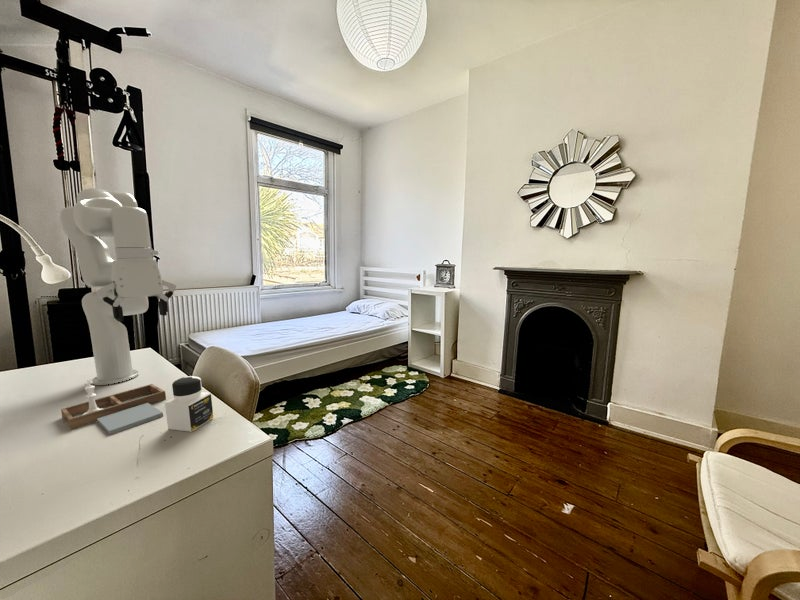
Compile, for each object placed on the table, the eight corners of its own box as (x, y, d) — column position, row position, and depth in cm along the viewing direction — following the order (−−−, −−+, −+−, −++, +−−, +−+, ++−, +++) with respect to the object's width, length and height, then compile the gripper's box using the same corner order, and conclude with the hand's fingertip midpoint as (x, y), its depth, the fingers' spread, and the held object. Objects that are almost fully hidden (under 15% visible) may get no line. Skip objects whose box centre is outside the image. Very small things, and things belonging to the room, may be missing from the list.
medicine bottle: (191, 432, 78) (186, 385, 77) (167, 429, 80) (161, 383, 78) (214, 418, 85) (209, 374, 84) (191, 415, 87) (186, 373, 85)
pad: (97, 422, 84) (96, 418, 84) (148, 405, 93) (147, 402, 93) (109, 434, 78) (109, 431, 78) (163, 416, 87) (162, 412, 87)
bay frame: (62, 417, 87) (60, 409, 87) (152, 391, 103) (151, 383, 103) (71, 429, 81) (69, 420, 81) (166, 399, 97) (165, 391, 97)
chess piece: (76, 419, 86) (70, 383, 85) (95, 410, 91) (90, 376, 90) (92, 420, 85) (86, 384, 84) (111, 411, 90) (105, 377, 89)
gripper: (166, 254, 95) (173, 312, 98) (86, 255, 81) (96, 322, 84) (177, 254, 91) (183, 314, 93) (95, 255, 77) (105, 325, 79)
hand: (142, 317), depth 88 cm, fingers open, 9 cm apart
